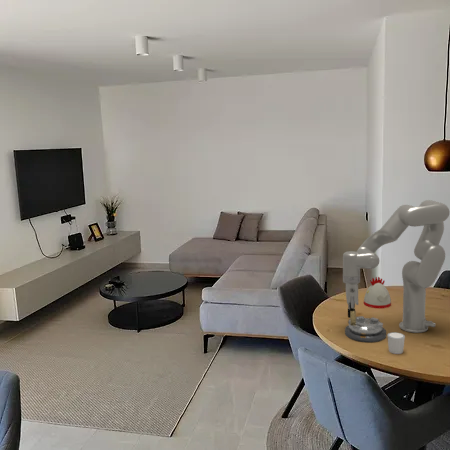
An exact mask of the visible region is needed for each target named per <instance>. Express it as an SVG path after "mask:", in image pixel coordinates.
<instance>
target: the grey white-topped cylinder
mask: <svg viewBox="0 0 450 450" xmlns="http://www.w3.org/2000/svg"><path fill="white" fill-rule="evenodd" d="M386 337H387V347H388V348H387V349H388V352H389V353H390V354H393V355H394V354H395V355H401V354H403V353H404V348H405V340H406V339H405V338H406V336H405V334H403V333H401V332H388V333H387V334H386Z"/></svg>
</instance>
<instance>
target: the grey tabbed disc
mask: <svg viewBox="0 0 450 450" xmlns="http://www.w3.org/2000/svg"><path fill="white" fill-rule="evenodd" d="M348 319H349V320H348V321H347V323H348V325H349V331H350V332H352V333H354V334H357V335H361V336H375V335H379V334H381V333H382V331H383V328H384V326H383V325H384V322H381V321H380V319H379V318H376V317H374V316H373V317H370V318H369V317H365V316H357V311H356V310H355V311H354V310H351V311H350V318H348Z"/></svg>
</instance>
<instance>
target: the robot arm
mask: <svg viewBox="0 0 450 450" xmlns="http://www.w3.org/2000/svg"><path fill="white" fill-rule="evenodd" d="M449 217H450V208H449V207H448V205H447V204H445V203H442V202H439V201H435V200H431V199H426V200H423V201H422V202H421V203H420V204H419V206H413V205H410V204H402V205H400V206H399V207H397V209H396V210H395V211H394V212H393V214H392V215H391V216H390V217H389V218H388V220H387V221H385V223H384V224H383V226H381V228H379V229H378V230H376V231H375V232H374V233H371V235H369V236H368V237H367V238H366V239H365V240H364V241H363V243H361V245H360V246H359V247H358V249H357V250H356V251H354V250H353V251H352V250H351V251H350V250H349V251H345V252H344V253H343V254H342V282H343V283H344V284H345V296H346V303H347V306H348V307H347V318H348V319H350V311H351V310H354V311H356V305H357V306H359V284H360V283H361V269H366V270H372V269H375V268H378V266H379V264H380V257H379V255H377V253H376V252H377V251H378V250H379V248H381V247H383V246H385V245H387V244H391V243H394V242H396V241H398V239H399V238H400V237H401V236H402V235H403V234H404V232H405V231H406V230H407V229H408V228H409V227H413V228H414V227H423V228H422V230H421V234H420V235H419V238H418V240H417V242H416V245H415V247H414V250H413V252H414V256H415V257H416V258H417V259H418V260H420V262H419V261H416V260H410V261H407V262H406V263H404V265H403V266H402V271H401V276H402V277H401V278H402V283H403V296H402V304H403V305H402V321H401V322H399V324H398V326H399V328H400V329H401V330H403V331H405V332H408V333H416V334H419V333H425V332H427V331H428V330H429V327H431V328H435V327H436V322H433V321H432V320H427V318H426V296H427V295H426V290H427V288H430V287H432V286H433V284H434V283H435V282H436V280H437V278H438V276H439V274H440V272H441V269H442V267H443V265H444V263H445V260H446V251H445V249H444V247H443V246H441V245H440V242H441V240H442V238H443V234H444V230H445V224H444V222H445V221H446V220H448V218H449Z"/></svg>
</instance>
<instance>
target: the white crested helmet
mask: <svg viewBox="0 0 450 450" xmlns="http://www.w3.org/2000/svg"><path fill="white" fill-rule="evenodd" d="M369 282H370V284H371V285H369V287H368V288H367V289H366V291H365V295H364V298H363V304H364V306H366V307H368V308H372V309H388V308H391V306H392V299H391V295H390V292H389V290H388V289H387V288H386V286H385V280H383V278H380V276H378V277H377V276H375V278H374V277H372V279H371V280H369Z"/></svg>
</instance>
